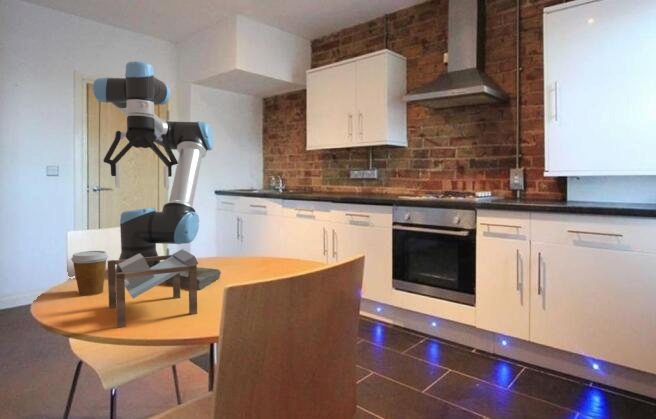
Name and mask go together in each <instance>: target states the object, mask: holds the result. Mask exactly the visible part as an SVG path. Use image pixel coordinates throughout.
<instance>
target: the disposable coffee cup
mask: <svg viewBox="0 0 656 419" xmlns="http://www.w3.org/2000/svg"><path fill="white" fill-rule="evenodd" d="M108 258H109V255H108V254H107V252H106V251H105V250H88V251H86V250H85V251H80V252H79V251H78V252H75V253H72V256H71V259H70V260H71V262H72V263H73V268H74V274H75V280H76V284H77V290H78V294H79V296H94V295H99V294H102V293H103V292H104V286H105V285H104V284H105V276H106V268H107V267H106V265H107V261H108V260H107V259H108Z"/></svg>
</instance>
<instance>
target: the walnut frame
mask: <svg viewBox="0 0 656 419" xmlns="http://www.w3.org/2000/svg"><path fill="white" fill-rule="evenodd" d="M173 254H174V253H173ZM173 254H168V255H158V256H155V257H144V258H145V260H146V262H148V261H158V260H160V261H164V260H166V259H168V258H170V257H171V256H173ZM125 260H127V259H123V260H119V259H112V260H107V280H108V281H107V283H108V284H107V286H108V287H107V288H108V291H107V292H108V307H109V309H114V308H116V325H117V328H119V329H120V328H124V327H127V321H126V320H127V319H126V288H125V281H126V280H125V279H126V278H130V277H138V276H147V275H155V274H163V273H172V272H180V271H189V289H188V311H189V312H188V313H189V314H190V315H191V316H192V315H197V314H198V290H197V265H198V264H197V265H195V264H192V265H188V266H180V267H171V268H162V269H154V270H145V271H136V272H127V273H124V272H119V273H116V266H117V265H118V264H119V263H121V262H123V261H125ZM172 288H173V289H172V292H173V293H172V296H173V298H174V299H179V298H181V287H180V273H178V274H176V275H175V276H173V286H172Z"/></svg>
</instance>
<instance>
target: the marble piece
mask: <svg viewBox="0 0 656 419" xmlns="http://www.w3.org/2000/svg"><path fill="white" fill-rule="evenodd" d="M221 273H222V272H221V270H220V269H218V268H207V267H197V291H200V290H203V289H205V288H206V286H207V287H208V286H210V285H212V284H214V283H215V282H217V281H219V280H220V279H221V278H220V277H221ZM218 279H219V280H218ZM216 280H217V281H216ZM164 282H165V284H167V285H169V286H172V287H173V277H171V278H169V279H167V280H166V281H164ZM211 283H212V284H211ZM180 288H183V289H187V288H188V290H189V271H182V272H180Z"/></svg>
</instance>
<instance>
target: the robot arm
mask: <svg viewBox="0 0 656 419" xmlns="http://www.w3.org/2000/svg"><path fill="white" fill-rule="evenodd" d="M124 76H125V78H124V77H101V78H99V77H98V78H96V79H95V80H94V81H93V84H92V93H93V95H94V97H95V99H96V100H97V101H98V102H101V103H106V104H108V103H111V104H112V105H113V106H114V107H116V108H117V109H118V110H119V111H121V113H122V114H124V115H125V116H126V132H124V131H120V130H116V132H115V133H114V139H113V141H112V144H111V145H110V147H109V149H108V150H107V153H106V154H105V156H104V159H103V160H102V161H103V163H106V164H108V165H110V176H111V177H115V178H114V184H115V188H116V189H117V188H118V189H119V188H120V165H119V164H117V163H118V162H119V161H120V160H121V159H122V158H123V157H124V156H125V154H126V153H128V152H129V151H130V149H132V147H134V148H136V149H139V148H142V149H149V148H150V150H152V151H153V153H155V154H156V156H157V157H158V158H159V159H160V160H161V161H162V163H163V164H164V165H165V166H163V188H168V189H169V177H170V178H171V177H172V176H173V175H172V174H173V173H172V171H173V170H172V168H173V166H176V168H175V173H174V179H173V181H172V186H171V190H170V191H171V192H170V195H169V200H168V202H166V203H164V205H163V206H162V210H161V211H157V210H156V209H155V207H149V208H148V207H147V208H141V209H132V210H126V211H123V212H122V213H121V214H120V222H119V228H120V249H121V250H120V252H121V253H120V255H119V257H118V260H123V259H129V258H131V257H133V256H135V255H137V254H139V253H140V254H141V255H142V256H143V257H155V256H159V253H158V251H157V244H162V245H163V244H169V245H170V244H171V245H182V244H191V243H192V242H193V241H194V240H195V239H196V237H197V235H198V232H199V227H200V224H199V223H200V219H199V218H200V217H199V215H198V213H197V212H196V209H195V207H194V201H195V200H194V198H195V195H196V190H197V184H198V179H199V174H200V170H201V169H200V168H201V163H202V159H203V158H205V157H206V156H207V152H208V151H212V150H213V148H214V137H213V136H214V135H213V131H212V129H211V126H210V124H209V123H207V122H205V121H198V120H197V121H172V120H171V121H170V120H169V121H168V120H165V119H164V118H163V117H160V116H158V115H156V113H155V105H159V106H162V105H166V104H167V103H168V102H169V101H170V99H171V97H172V96H171V95H172V94H171V93H172V92H171V89H170V87H169V86H168V85H167V84H166V83H165V82H164V81H162V80H160V79H158V78H157V77H155V72H154V66H153V65H152V64H150V63H148V62H142V61H129V62H127V63H126V64H125V75H124ZM124 137H125V138H126V139H127V141H128V143H127V144H126V145H125V146H124V147H123V148H122V149H121V150H120V151H119V153H117V154H116V155H115V157H114V158H112V156H113V154H114V152H115V150H116V149H117V146H118V145H119V143H120V141H121V140H123V139H124ZM157 145H158V146H160V147H162V148H163V150H164V151H165V153H166V155H167V157H166V156H165V154H164V153H163V152H162V151H161V150H160V148H159V147H158V146H157ZM175 150H176V151H177V152H178V153H179V155H178V159H177V158H176V156H175V154H174V152H173V151H175ZM111 158H112V159H111ZM168 158H169V159H168ZM160 262H161V260H158V261H148V262H147V264H148V266H149V268H151V267H153V266H155V265H156V264H158V263H160ZM119 272H122V270H121V268H120V266H119V265H116V266H115V274H116V273H119Z"/></svg>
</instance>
